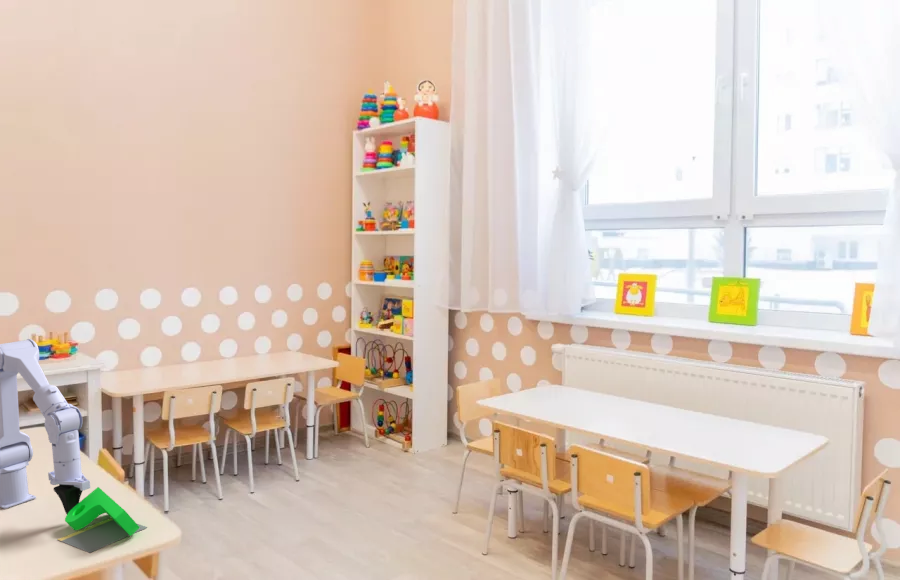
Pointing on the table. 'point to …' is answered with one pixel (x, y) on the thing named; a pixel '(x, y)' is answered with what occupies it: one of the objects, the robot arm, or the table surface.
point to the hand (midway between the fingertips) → (71, 513)
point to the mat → (97, 535)
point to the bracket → (99, 512)
